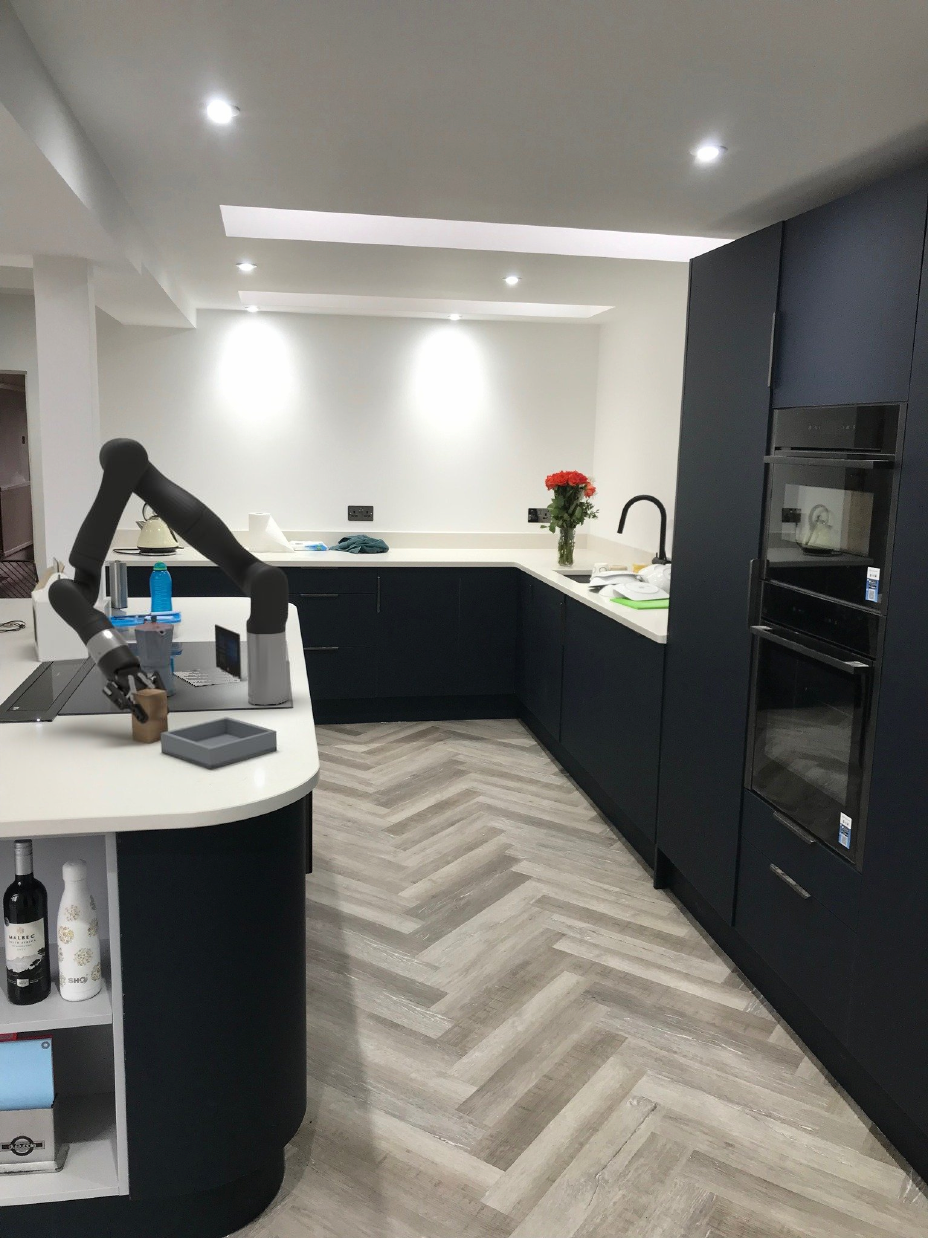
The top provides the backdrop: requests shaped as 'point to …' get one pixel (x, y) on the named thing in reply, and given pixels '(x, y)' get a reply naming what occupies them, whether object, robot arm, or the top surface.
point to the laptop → (222, 655)
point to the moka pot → (156, 650)
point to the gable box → (53, 623)
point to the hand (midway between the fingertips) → (156, 718)
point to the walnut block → (151, 715)
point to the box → (218, 742)
